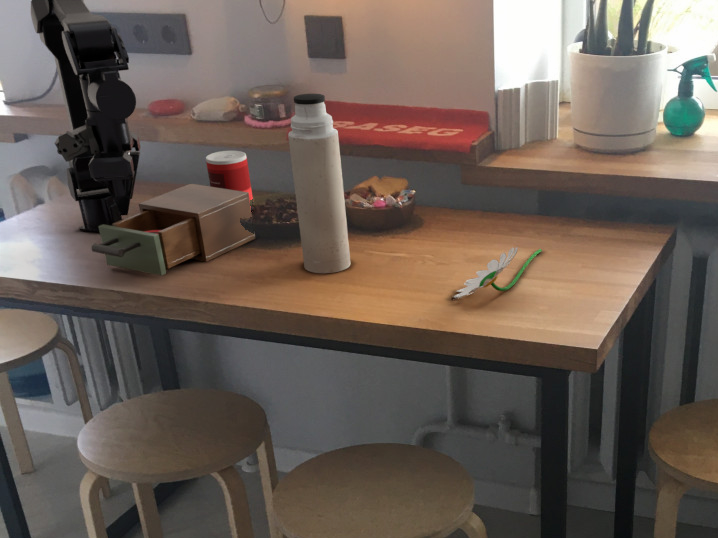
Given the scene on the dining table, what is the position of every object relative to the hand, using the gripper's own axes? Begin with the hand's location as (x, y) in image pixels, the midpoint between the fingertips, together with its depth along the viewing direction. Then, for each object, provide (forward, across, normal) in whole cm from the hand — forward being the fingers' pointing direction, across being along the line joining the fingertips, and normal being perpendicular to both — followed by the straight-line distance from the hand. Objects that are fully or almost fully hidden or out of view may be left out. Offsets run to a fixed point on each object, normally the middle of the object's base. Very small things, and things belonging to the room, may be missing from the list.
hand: (126, 206), depth 167 cm
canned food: (+12, -31, +16) cm, 37 cm away
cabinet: (+11, -12, +10) cm, 20 cm away
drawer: (+11, -2, +1) cm, 11 cm away
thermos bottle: (+12, +5, +32) cm, 34 cm away
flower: (+12, +20, +61) cm, 65 cm away
